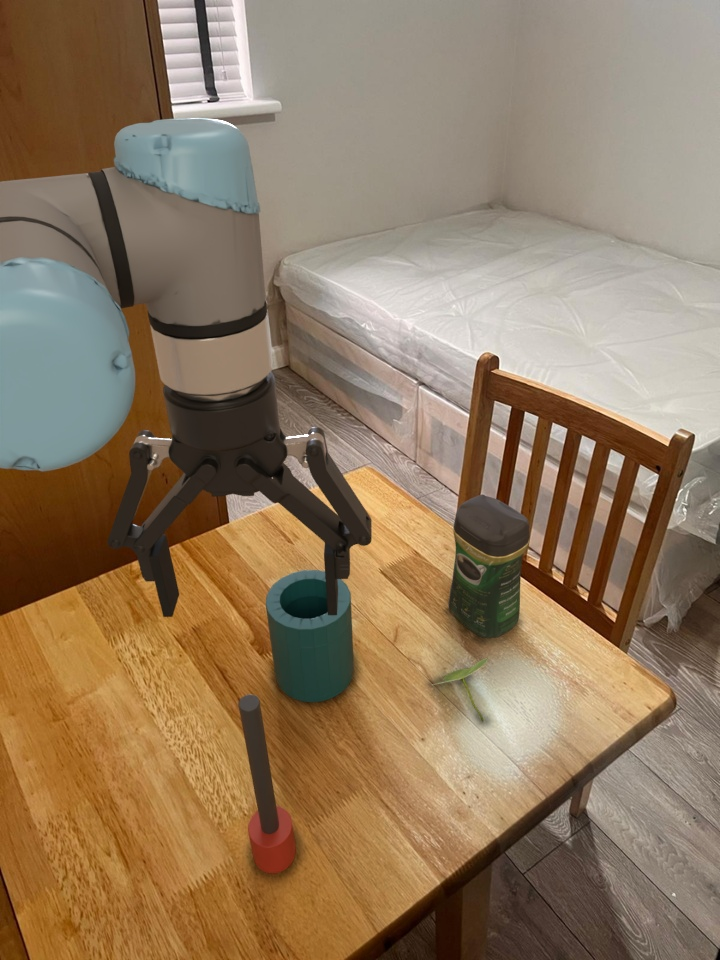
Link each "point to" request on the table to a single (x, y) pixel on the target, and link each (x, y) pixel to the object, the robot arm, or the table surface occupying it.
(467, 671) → the seedling
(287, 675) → the cup
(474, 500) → the coffee jar
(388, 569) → the table surface
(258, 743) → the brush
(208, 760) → the table surface
